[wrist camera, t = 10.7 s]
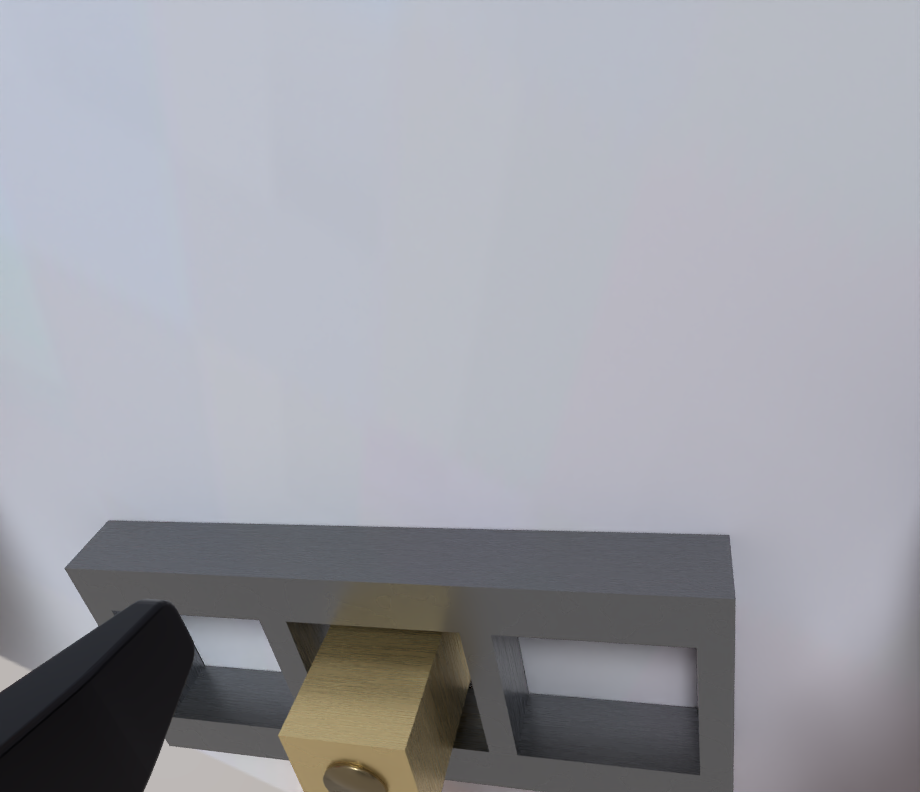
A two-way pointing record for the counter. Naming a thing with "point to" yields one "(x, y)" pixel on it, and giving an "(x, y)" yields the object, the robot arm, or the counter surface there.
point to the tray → (450, 610)
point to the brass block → (378, 711)
